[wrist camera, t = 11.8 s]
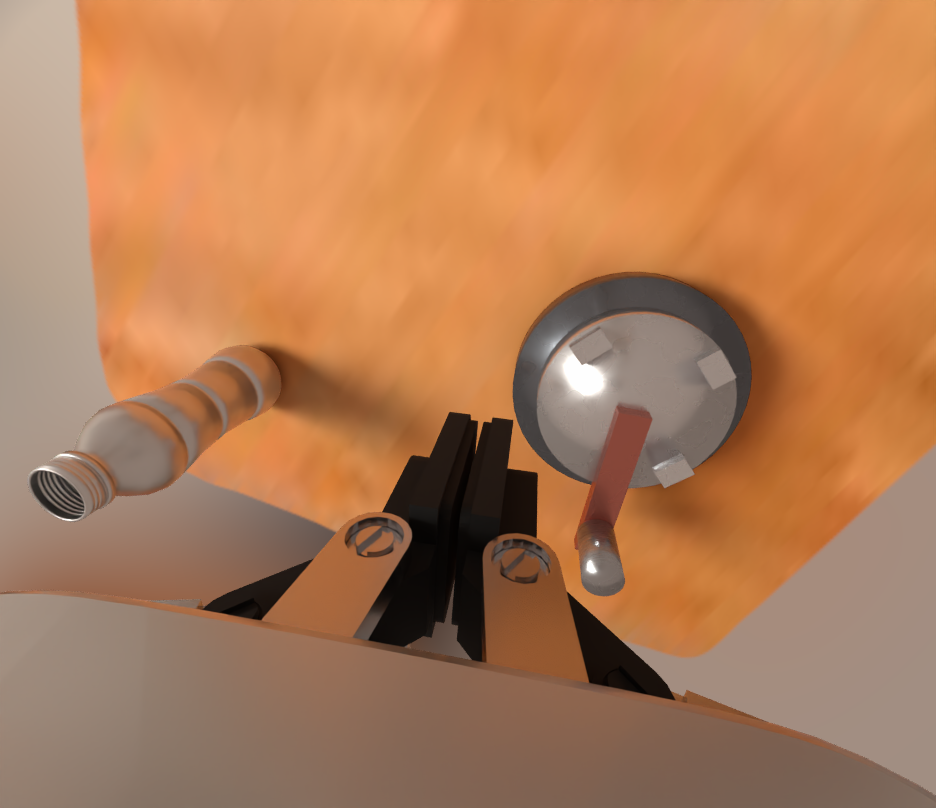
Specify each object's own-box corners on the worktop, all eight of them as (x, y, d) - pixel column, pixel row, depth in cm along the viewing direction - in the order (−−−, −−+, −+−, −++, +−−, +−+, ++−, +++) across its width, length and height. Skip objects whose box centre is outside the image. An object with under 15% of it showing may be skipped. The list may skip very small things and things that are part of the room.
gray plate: (542, 251, 35) (542, 255, 32) (776, 297, 34) (797, 306, 31) (496, 445, 43) (493, 462, 40) (685, 488, 41) (695, 509, 39)
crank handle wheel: (754, 325, 32) (825, 366, 24) (662, 539, 40) (692, 621, 32) (558, 291, 33) (563, 320, 25) (510, 507, 41) (502, 579, 33)
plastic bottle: (270, 331, 41) (60, 432, 23) (302, 396, 44) (133, 534, 26) (215, 348, 43) (-23, 455, 25) (248, 410, 45) (53, 549, 27)
